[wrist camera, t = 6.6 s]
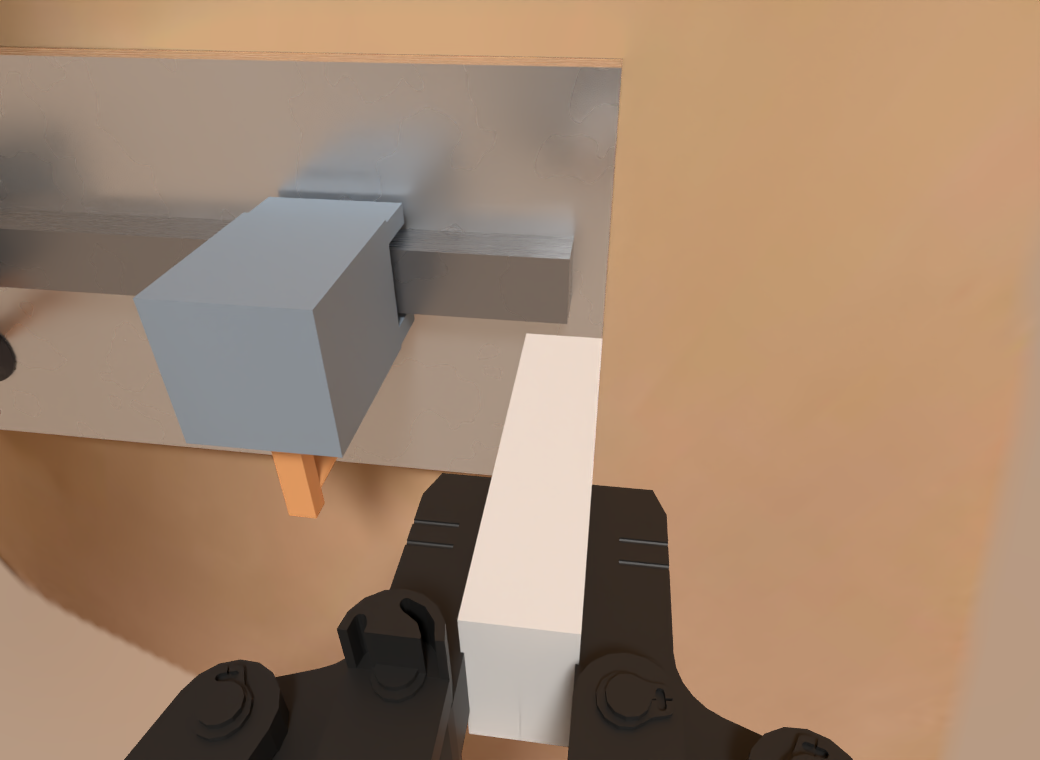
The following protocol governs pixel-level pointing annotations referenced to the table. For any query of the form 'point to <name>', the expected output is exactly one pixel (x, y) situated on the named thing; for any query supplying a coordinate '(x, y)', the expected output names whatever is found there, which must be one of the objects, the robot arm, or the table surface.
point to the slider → (281, 333)
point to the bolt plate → (310, 175)
